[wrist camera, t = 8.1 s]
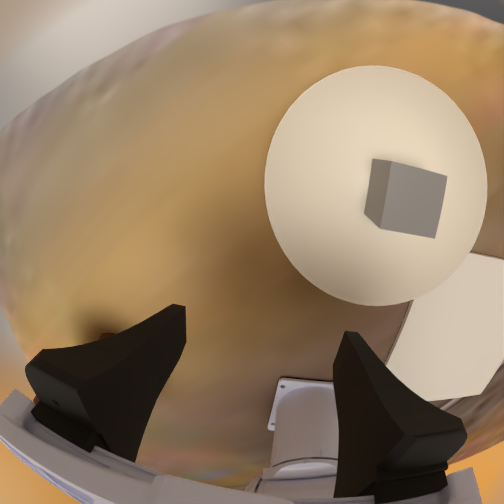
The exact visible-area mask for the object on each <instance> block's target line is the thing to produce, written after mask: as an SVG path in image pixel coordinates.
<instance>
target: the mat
mask: <svg viewBox="0 0 504 504" xmlns="http://www.w3.org/2000/svg"><path fill="white" fill-rule="evenodd" d="M503 359H504V259H503V258H498V257H493V256H489V255H484V254H479V253H474V252H469V254H468V255H467V257H466V258H465V260H464V261H463V262H462V264H461V265H460V266H459V267H458V269H457V270H456V271H455V272H454V273H453V274H452V275H451V276H450V277H449V278H448V279H446V280H445V281H444V282H443V283H442V284H440V285H439V286H438V287H436V288H435V289H433V290H432V291H430V292H428V293H426V294H424V295H422V296H420V297H418V298H415V299H413V300H411V301H410V304H409V306H408V309H407V312H406V314H405V317H404V319H403V322H402V324H401V327H400V329H399V332H398V334H397V337H396V339H395V341H394V344H393V346H392V348H391V350H390V353H389V355H388V357H387V359H386V361H385V363H384V365H385V366H386V367H387V368H388V369H389V370H390V371H391V372H392V373H393V374H394V375H395V376H396V377H397V378H398V379H399V380H400V381H401V382H402V383H404V384H405V385H406V386H407V387H408V388H409V389H411V390H412V391H413V392H414V393H416V394H417V395H419V396H420V397H421V398H423V399H424V400H426V401H434V400H443V399H451V398H459V397H465V396H472V395H477V394H481V393H482V391H483V390H484V388H485V387H486V386H487V384H488V383H489V381H490V380H491V378H492V377H493V375H494V374H495V372H496V370H497V369H498V367H499V366H500V364H501V362H502V361H503Z"/></svg>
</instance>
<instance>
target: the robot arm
mask: <svg viewBox="0 0 504 504" xmlns="http://www.w3.org/2000/svg"><path fill="white" fill-rule="evenodd" d="M185 344H186V310H185V306H181V305H176V304H172V305H170V306H168V307H166V308H165V309H163V310H161V311H160V312H158V313H156V314H155V315H153V316H151V317H149V318H148V319H146V320H144V321H142V322H141V323H139V324H137V325H135V326H133V327H131V328H129V329H127V330H125V331H122V332H120V333H118V334H115V335H113V336H110V337H108V338H105V339H101V340H98V341H95V342H91V343H87V344H83V345H78V346H73V347H66V348H56V349H42V350H41V351H40V352H39V353H38V354H37V355H36V356H35V357H34V358H33V359H32V360H31V361H30V362H29V363H28V364H27V365H26V367H25V372H26V376H27V379H28V381H29V383H30V385H31V387H32V388H33V390H34V392H35V394H36V396H37V397H38V399H39V400H40V401H39V402H38V403H37V404H36V405H35V403H34V402H32V400H30V399H29V398H28V397H26V396H25V395H24V394H22V393H21V392H19V391H18V390H17V389H14V390H13V391H12V392H11V393H10V394H9V396H8V397H7V398H6V399H5V400H4V401H3V402H2V403H1V405H0V440H1V441H2V442H3V443H4V444H5V446H6V447H7V448H8V449H9V450H10V451H11V452H12V453H13V454H14V455H15V456H16V457H18V458H19V459H20V460H21V461H22V462H24V463H25V464H26V465H27V466H29V467H30V468H31V469H32V470H34V471H35V472H36V473H38V474H39V475H40V476H42V477H43V478H44V479H46V480H47V481H48V482H50V483H51V484H53V485H54V486H55V487H57V488H58V489H60V490H61V491H63V492H64V493H66V494H67V495H69V496H71V497H72V498H74V499H75V500H77V501H78V502H80V503H82V504H482V501H481V497H480V493H479V489H478V485H477V482H476V478H475V475H474V472H473V468H471V467H470V468H467V469H463V470H461V471H457V472H454V473H451V474H449V475H448V476H446V475H445V470H447V469H448V464H447V460H448V459H450V458H451V457H452V456H453V455H454V454H455V453H456V452H457V451H458V450H459V449H460V448H461V447H462V446H463V444H464V443H465V441H466V439H467V433H466V430H465V428H464V425H463V423H462V420H461V418H458V417H456V416H454V415H452V414H449V413H447V412H445V411H443V410H441V409H439V408H437V407H436V406H434V405H432V404H430V403H429V402H427V401H426V400H424V399H423V398H421V397H420V396H419V395H417V394H416V393H414V392H413V391H412V390H411V389H409V388H408V387H407V386H406V385H405V384H404V383H402V382H401V381H400V380H399V379H398V378H397V377H396V376H395V375H394V374H393V373H392V372H391V371H390V370H389V369H388V368H387V367H386V366H385V365H384V364H383V362H382V361H381V360H380V359H379V358H378V357H377V355H376V354H375V353H374V352H373V351H372V349H371V348H370V347H369V346H368V344H367V343H366V342H365V341H364V339H363V338H362V337H361V336H360V335H359V333H358V332H349V331H345V332H344V335H343V338H342V341H341V344H340V347H339V350H338V352H337V355H336V358H335V361H334V363H333V382H322V381H310V380H300V379H291V378H281V379H279V382H278V386H277V390H276V394H275V398H274V403H273V407H272V411H271V415H270V419H269V423H268V427H267V428H268V429H269V430H273V431H274V437H273V445H272V453H271V461H270V468H263V475H262V478H260V477H258V478H255V479H253V480H252V482H251V483H250V484H249V485H248V486H247V487H246V489H245V491H240V490H234V489H229V488H223V487H219V486H214V485H209V484H205V483H201V482H197V481H193V480H189V479H185V478H181V477H176V476H172V475H167V474H164V473H161V472H158V471H155V470H152V469H150V468H147V467H144V466H141V465H139V464H136V463H135V460H136V457H137V453H138V450H139V446H140V443H141V440H142V437H143V434H144V431H145V428H146V426H147V423H148V420H149V418H150V415H151V412H152V410H153V408H154V405H155V403H156V400H157V398H158V396H159V394H160V392H161V391H162V389H163V387H164V385H165V384H166V382H167V380H168V378H169V377H170V375H171V373H172V371H173V370H174V368H175V366H176V364H177V362H178V361H179V359H180V356H181V354H182V351H183V349H184V346H185ZM282 385H284V386H282Z"/></svg>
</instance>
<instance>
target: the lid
mask: <svg viewBox="0 0 504 504" xmlns="http://www.w3.org/2000/svg"><path fill="white" fill-rule="evenodd" d="M264 189H265V199H266V207H267V211H268V216H269V220H270V223H271V226H272V229H273V231H274V234H275V237H276V239H277V241H278V243H279V245H280V246H281V248H282V250H283V252H284V253H285V255H286V256H287V258H288V259H289V260H290V262H291V263H292V265H293V266H294V267H295V268H296V269H297V270H298V271H299V272H300V273H301V274H302V276H304V277H305V278H306V279H307V280H308V281H310V282H311V283H312V284H313V285H314V286H316V287H317V288H319V289H321V290H322V291H324V292H325V293H327V294H329V295H331V296H334V297H336V298H338V299H340V300H344V301H347V302H350V303H354V304H360V305H366V306H386V305H395V304H399V303H403V302H407V301H410V300H413V299H415V298H418V297H420V296H422V295H424V294H426V293H428V292H430V291H432V290H433V289H435V288H436V287H438V286H439V285H440V284H442V283H443V282H444V281H445V280H446V279H448V278H449V277H450V276H451V275H452V274H453V273H454V272H455V271H456V270H457V269H458V267H459V266H460V265H461V264H462V262H463V261H464V260H465V258H466V257H467V255H468V254H469V252H470V250H471V249H472V247H473V245H474V243H475V241H476V239H477V236H478V234H479V231H480V229H481V226H482V222H483V218H484V215H485V208H486V202H487V175H486V167H485V162H484V157H483V154H482V150H481V147H480V144H479V141H478V139H477V137H476V135H475V132H474V130H473V128H472V127H471V125H470V123H469V121H468V120H467V118H466V117H465V115H464V114H463V113H462V111H461V110H460V109H459V107H458V106H457V105H456V104H455V103H454V102H453V101H452V100H451V99H450V98H449V97H448V96H447V95H446V94H445V93H444V92H443V91H442V90H440V89H439V88H438V87H436V86H435V85H434V84H432V83H430V82H429V81H427V80H425V79H423V78H422V77H420V76H418V75H415V74H413V73H410V72H408V71H405V70H401V69H397V68H393V67H387V66H375V65H372V66H358V67H353V68H349V69H345V70H341V71H339V72H336V73H334V74H331V75H329V76H327V77H325V78H323V79H322V80H320V81H318V82H316V83H315V84H313V85H312V86H311V87H310V88H308V89H307V90H306V91H305V92H304V93H302V94H301V95H300V96H299V97H298V98H297V100H296V101H295V102H294V103H293V104H292V105H291V106H290V107H289V109H288V110H287V112H286V114H285V115H284V117H283V118H282V120H281V121H280V123H279V125H278V127H277V129H276V132H275V134H274V136H273V138H272V142H271V145H270V148H269V151H268V155H267V161H266V168H265V185H264Z"/></svg>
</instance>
